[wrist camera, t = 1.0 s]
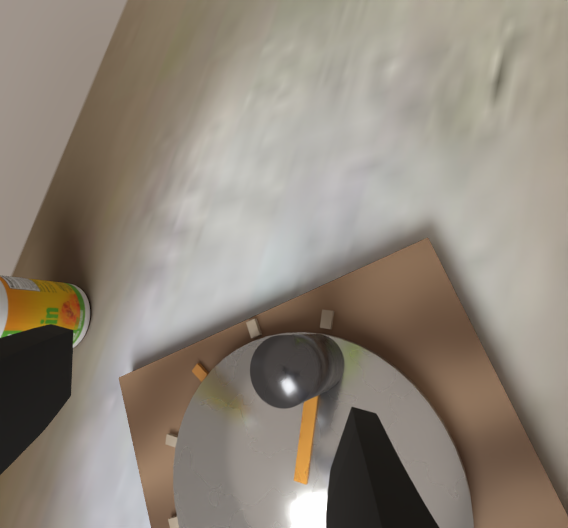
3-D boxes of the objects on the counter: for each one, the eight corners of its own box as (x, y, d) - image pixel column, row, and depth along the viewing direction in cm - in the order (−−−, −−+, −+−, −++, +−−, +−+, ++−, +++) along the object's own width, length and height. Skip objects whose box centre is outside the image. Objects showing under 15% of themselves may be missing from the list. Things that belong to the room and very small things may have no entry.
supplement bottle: (76, 363, 31) (-78, 377, 22) (36, 333, 33) (-117, 335, 24) (102, 299, 31) (-42, 288, 22) (60, 273, 33) (-85, 253, 24)
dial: (455, 741, 17) (454, 910, 12) (161, 583, 23) (83, 651, 19) (488, 361, 18) (499, 373, 14) (204, 313, 25) (142, 310, 20)
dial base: (636, 655, 16) (653, 685, 15) (204, 699, 23) (189, 722, 21) (429, 241, 22) (427, 236, 20) (131, 375, 28) (115, 378, 27)
